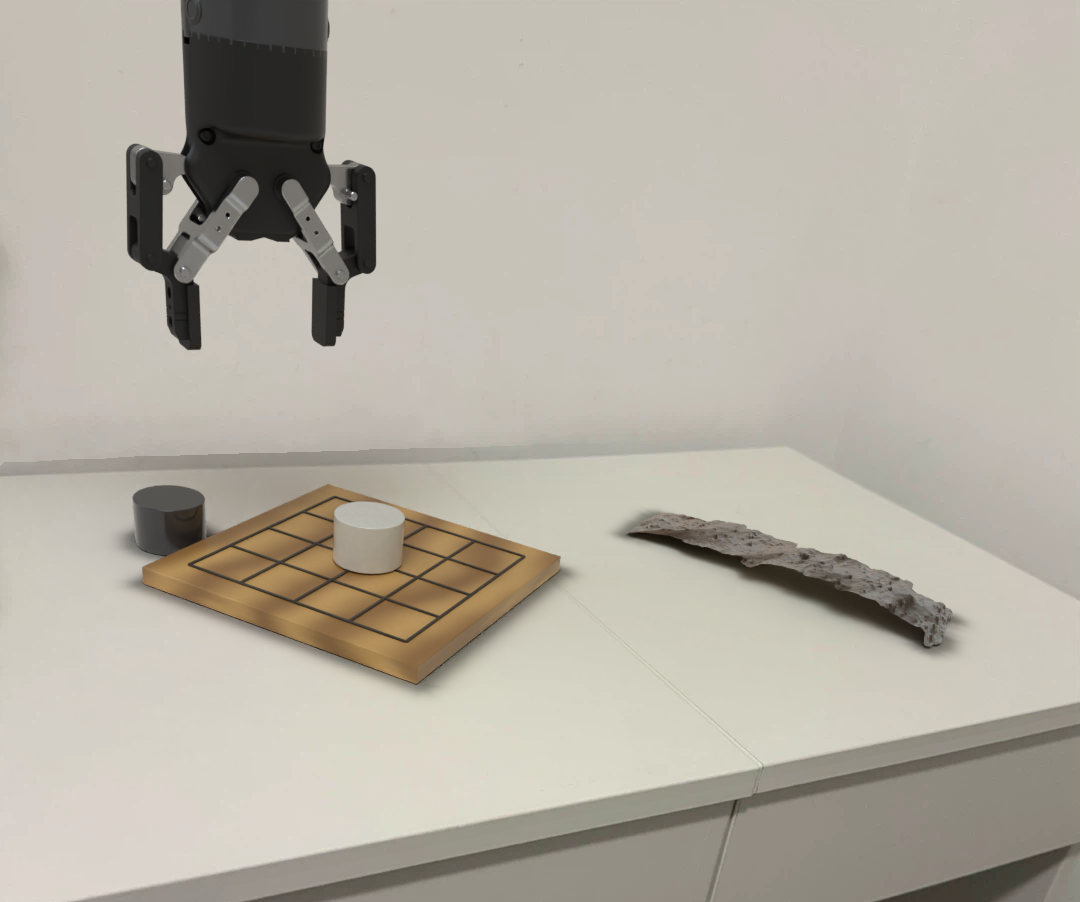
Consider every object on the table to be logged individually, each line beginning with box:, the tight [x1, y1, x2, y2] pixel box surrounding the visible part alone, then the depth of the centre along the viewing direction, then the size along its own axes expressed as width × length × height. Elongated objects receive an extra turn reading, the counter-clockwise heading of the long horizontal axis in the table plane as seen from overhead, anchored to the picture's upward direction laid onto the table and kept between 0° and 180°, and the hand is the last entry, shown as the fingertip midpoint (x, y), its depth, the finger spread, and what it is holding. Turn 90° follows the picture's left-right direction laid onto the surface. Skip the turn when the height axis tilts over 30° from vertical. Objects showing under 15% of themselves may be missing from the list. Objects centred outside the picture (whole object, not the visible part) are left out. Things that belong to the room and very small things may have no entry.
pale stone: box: [333, 502, 405, 574], centre depth 70 cm, size 5×5×3 cm
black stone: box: [131, 484, 208, 556], centre depth 71 cm, size 5×5×3 cm
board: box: [141, 483, 562, 685], centre depth 71 cm, size 20×20×1 cm
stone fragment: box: [626, 512, 954, 648], centre depth 80 cm, size 25×3×10 cm
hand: (258, 345), depth 65 cm, fingers open, 8 cm apart
